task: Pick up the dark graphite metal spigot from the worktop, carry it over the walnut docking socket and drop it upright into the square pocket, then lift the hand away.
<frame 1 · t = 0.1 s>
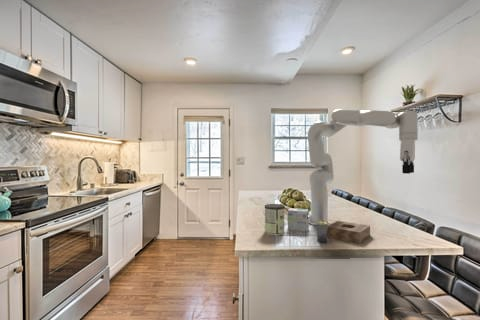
hand: (408, 173, 127), 31 cm above the table, tool pointing down, fingers open, 9 cm apart
coffee can: (274, 233, 137), on the table
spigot: (322, 241, 122), on the table
light bulb box: (298, 229, 144), on the table
socket: (347, 236, 130), on the table
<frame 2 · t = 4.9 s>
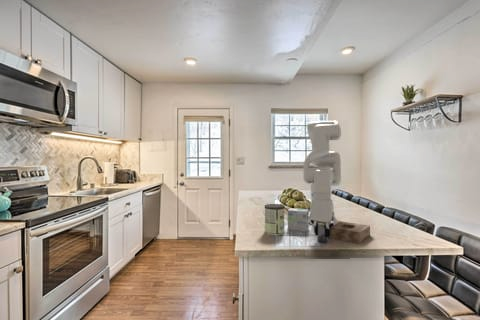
hand: (322, 235, 122), 3 cm above the table, tool pointing down, fingers closed on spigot, 4 cm apart
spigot: (322, 241, 122), on the table, touching gripper
everything else where it was.
when the fingers open (6 cm above the table, at t = 10.3 s): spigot drops 2 cm, resting on socket.
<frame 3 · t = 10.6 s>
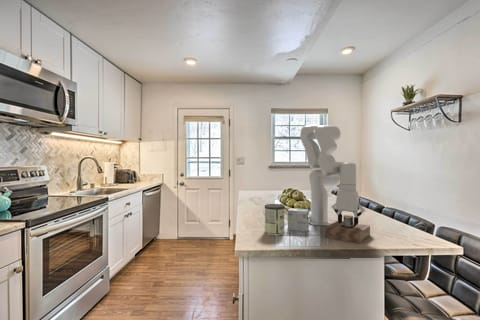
hand: (347, 223, 130), 6 cm above the table, tool pointing down, fingers open, 6 cm apart
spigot: (348, 234, 130), point 1 cm above the table, touching socket
everything else where it was.
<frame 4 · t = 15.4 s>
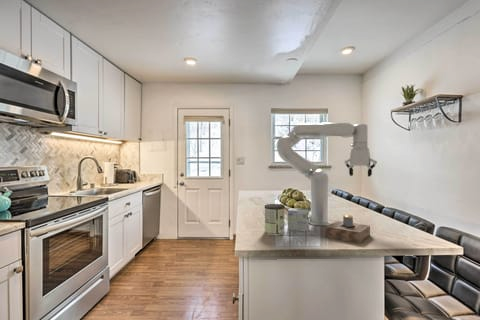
hand: (360, 175, 151), 28 cm above the table, tool pointing down, fingers open, 9 cm apart
nothing on the table moved.
at the end: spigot 0.1 cm off-centre on the socket, point 1.0 cm above the socket's base; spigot tilted 0°; the gripper is holding nothing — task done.
